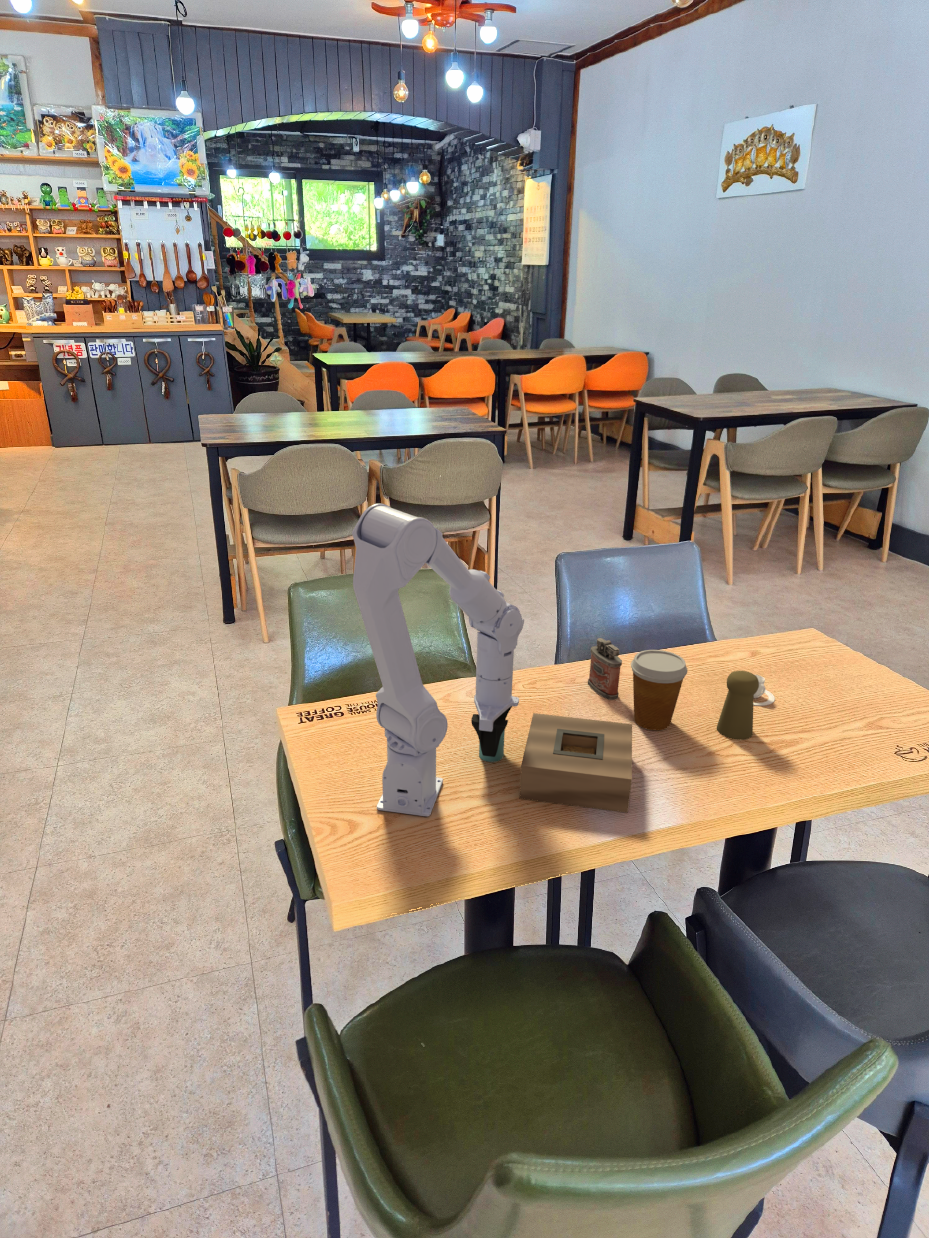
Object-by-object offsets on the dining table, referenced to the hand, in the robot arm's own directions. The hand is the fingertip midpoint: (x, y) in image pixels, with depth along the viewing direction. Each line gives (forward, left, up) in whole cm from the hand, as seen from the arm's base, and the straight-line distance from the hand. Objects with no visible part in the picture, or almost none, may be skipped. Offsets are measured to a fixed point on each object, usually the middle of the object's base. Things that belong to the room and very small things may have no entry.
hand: (491, 747), depth 133 cm
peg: (0, 0, -2) cm, 2 cm away
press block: (-3, -14, -1) cm, 14 cm away
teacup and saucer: (+34, -46, -2) cm, 57 cm away
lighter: (+27, -17, -2) cm, 32 cm away
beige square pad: (-3, -14, +2) cm, 14 cm away
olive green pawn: (+17, -40, -2) cm, 43 cm away
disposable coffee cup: (+17, -26, -2) cm, 31 cm away
